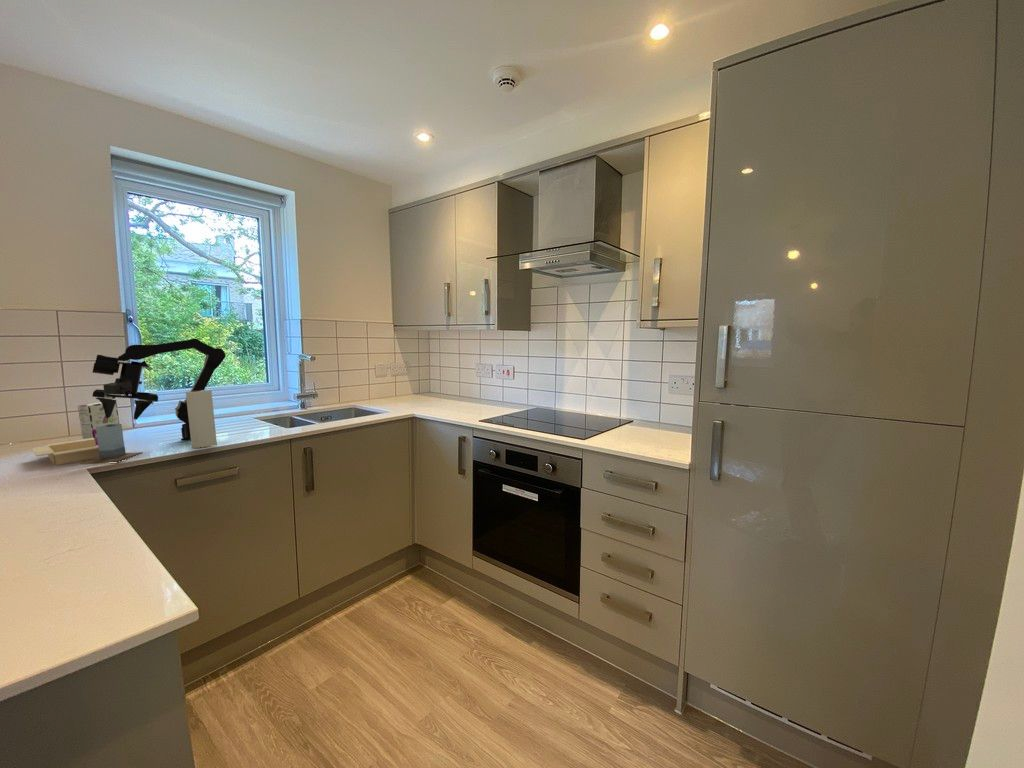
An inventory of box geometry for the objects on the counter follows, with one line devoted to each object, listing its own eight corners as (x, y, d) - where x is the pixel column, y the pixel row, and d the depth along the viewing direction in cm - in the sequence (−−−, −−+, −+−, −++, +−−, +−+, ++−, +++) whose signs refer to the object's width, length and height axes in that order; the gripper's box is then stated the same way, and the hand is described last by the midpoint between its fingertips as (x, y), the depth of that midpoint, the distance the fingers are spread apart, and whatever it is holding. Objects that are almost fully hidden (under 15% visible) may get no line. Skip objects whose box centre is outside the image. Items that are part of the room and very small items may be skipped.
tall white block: (187, 447, 157) (181, 391, 155) (204, 443, 163) (199, 389, 160) (200, 449, 154) (194, 391, 152) (217, 445, 160) (211, 389, 158)
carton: (116, 445, 162) (114, 434, 162) (130, 454, 148) (128, 442, 148) (32, 459, 145) (30, 446, 145) (39, 471, 131) (37, 457, 131)
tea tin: (111, 455, 145) (106, 424, 144) (125, 455, 145) (121, 423, 144) (99, 459, 140) (95, 427, 139) (115, 458, 141) (111, 426, 140)
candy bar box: (110, 440, 173) (105, 400, 171) (122, 439, 172) (117, 400, 171) (82, 447, 161) (76, 405, 160) (95, 447, 161) (89, 405, 160)
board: (142, 454, 149) (142, 452, 149) (118, 463, 138) (118, 461, 138) (108, 456, 148) (108, 453, 148) (80, 465, 137) (80, 462, 137)
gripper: (83, 371, 149) (74, 415, 146) (141, 375, 151) (132, 418, 148) (109, 376, 160) (100, 417, 157) (162, 380, 162) (154, 420, 159)
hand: (121, 418), depth 155 cm, fingers open, 9 cm apart
